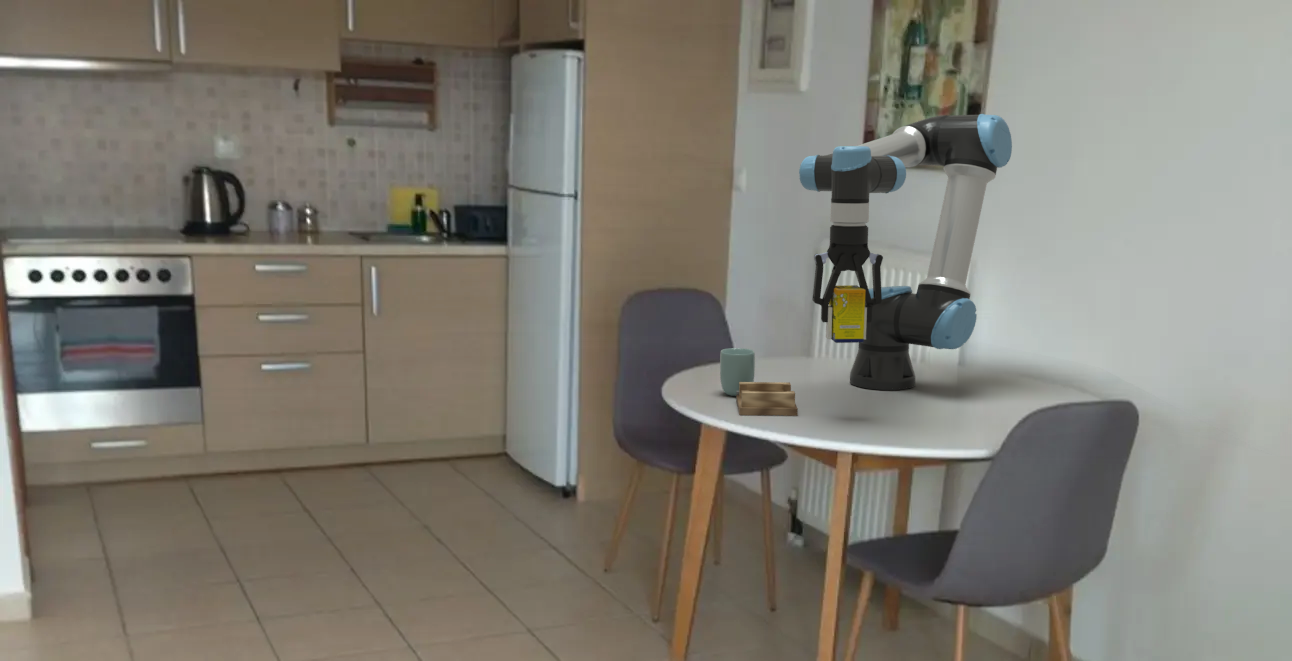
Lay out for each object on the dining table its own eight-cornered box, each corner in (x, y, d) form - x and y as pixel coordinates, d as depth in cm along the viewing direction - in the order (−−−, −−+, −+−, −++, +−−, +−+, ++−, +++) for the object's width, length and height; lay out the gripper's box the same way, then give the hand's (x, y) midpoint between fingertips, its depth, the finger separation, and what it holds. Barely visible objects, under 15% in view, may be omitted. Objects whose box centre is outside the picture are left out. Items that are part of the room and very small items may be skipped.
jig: (791, 401, 239) (791, 381, 238) (797, 415, 226) (798, 394, 225) (736, 401, 239) (736, 381, 238) (739, 415, 226) (740, 394, 225)
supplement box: (827, 338, 223) (828, 285, 222) (855, 337, 224) (857, 285, 222) (834, 343, 218) (836, 289, 216) (864, 342, 218) (866, 288, 216)
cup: (752, 399, 241) (753, 354, 239) (717, 397, 242) (718, 353, 241) (755, 391, 248) (756, 348, 247) (722, 390, 250) (722, 347, 248)
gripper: (893, 223, 220) (889, 335, 224) (798, 222, 221) (796, 334, 225) (901, 225, 213) (897, 341, 217) (803, 225, 213) (800, 341, 217)
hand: (845, 338), depth 221 cm, fingers closed on supplement box, 6 cm apart
